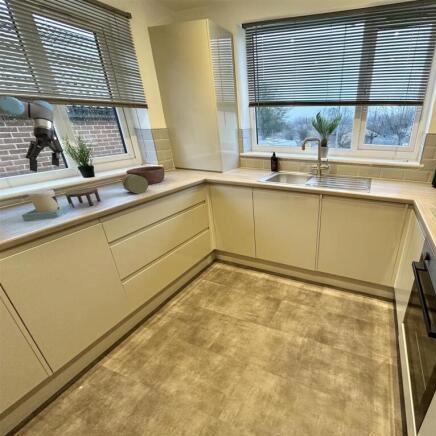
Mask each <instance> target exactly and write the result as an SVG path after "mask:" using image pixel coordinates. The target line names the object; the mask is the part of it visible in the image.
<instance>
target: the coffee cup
mask: <svg viewBox="0 0 436 436" xmlns="http://www.w3.org/2000/svg"><path fill="white" fill-rule="evenodd" d="M27 196H28V198H29V199H30V201H31V204H32V205H33V206H34V209H36V210H37V212H38V213H43V212H54V211H57V210H59V209H60V205H59V203H58V200H57V196H56V194H55V190H53V188H50V189H49V188H46V189H39V190H34V191H30V192H28V193H27Z"/></svg>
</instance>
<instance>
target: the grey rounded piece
mask: <svg viewBox="0 0 436 436" xmlns="http://www.w3.org/2000/svg"><path fill="white" fill-rule="evenodd" d="M120 180H121V183H122V186H123V189H124V190H125V191H127V192H130V193H134V194H138V195H140V194H143V193H145V192H147V190H148V188H149V185H148V182H147V180H146V179H145V178H144V177H141V176H137V175H133V174H127V173H126V174H124V175H123V176H122V177H121V179H120Z"/></svg>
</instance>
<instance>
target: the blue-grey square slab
mask: <svg viewBox="0 0 436 436" xmlns="http://www.w3.org/2000/svg"><path fill="white" fill-rule="evenodd" d="M72 210H74V208H73V207H72V204H69V203H68V204H66V205H64V206H62V207H59V210H57V211H54V212H43V213H38V212H37V210H36V208H34V209H32V210H30V211H28V212H24V213H22V214H21V216H22V219H23V221H25V222H27V221H36V220H47V219H55V218H56V219H58V218H59V217H61V216H63V215H65V214H67V213H68V212H70V211H72Z"/></svg>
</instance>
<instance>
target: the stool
mask: <svg viewBox="0 0 436 436" xmlns="http://www.w3.org/2000/svg"><path fill="white" fill-rule="evenodd" d="M93 194H94V195H95V198H96V202H97V203H99V202H101V201H102V200H101V197H100V194H99V190H98V188H97V187H81V188H76V189H72V190H68V191H66V192H64V195H65V197H66V200H67V202H68V204H72V207H73V209H74V208H75V205H74V203H73V200H72V198H77V200H78V203H79V204H83V203H84V201H83V198H82V197H86V200H87V202H88V205H89V207H94V203H93V200H92V198H91V195H93Z"/></svg>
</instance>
